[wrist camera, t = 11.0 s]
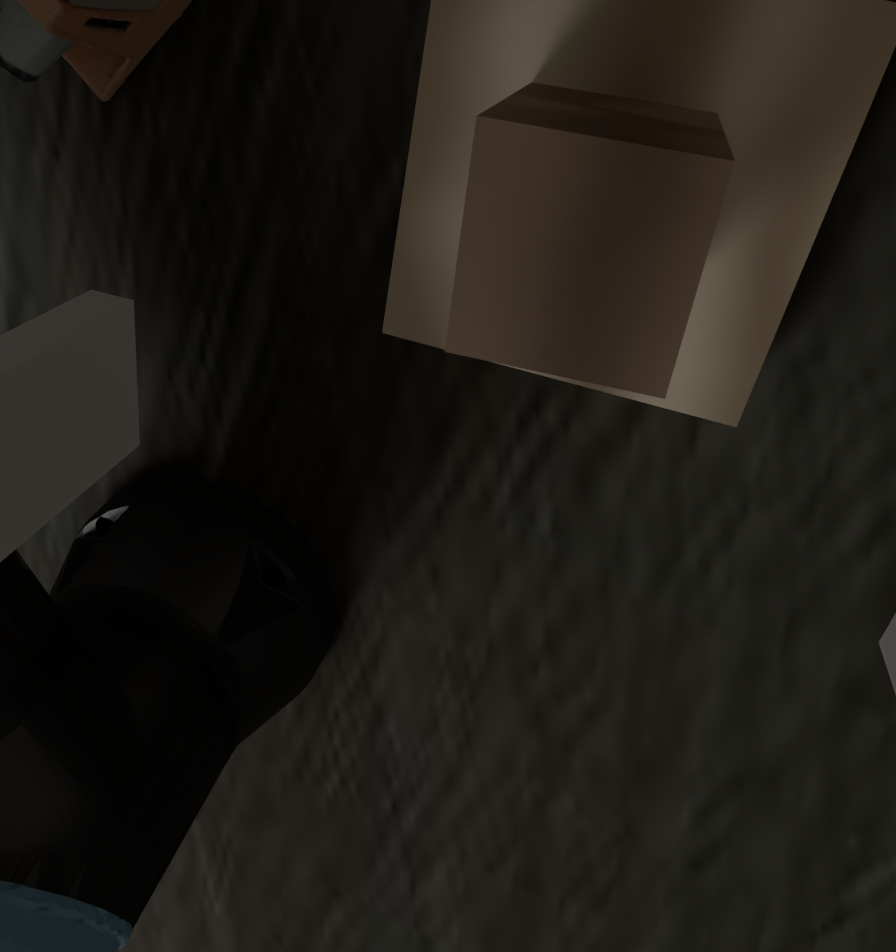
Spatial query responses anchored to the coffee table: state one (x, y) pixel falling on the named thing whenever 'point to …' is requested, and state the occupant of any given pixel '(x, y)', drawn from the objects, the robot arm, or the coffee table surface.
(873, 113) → the coffee table surface
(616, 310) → the walnut block
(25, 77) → the electronic device
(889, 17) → the oak block
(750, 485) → the coffee table surface
